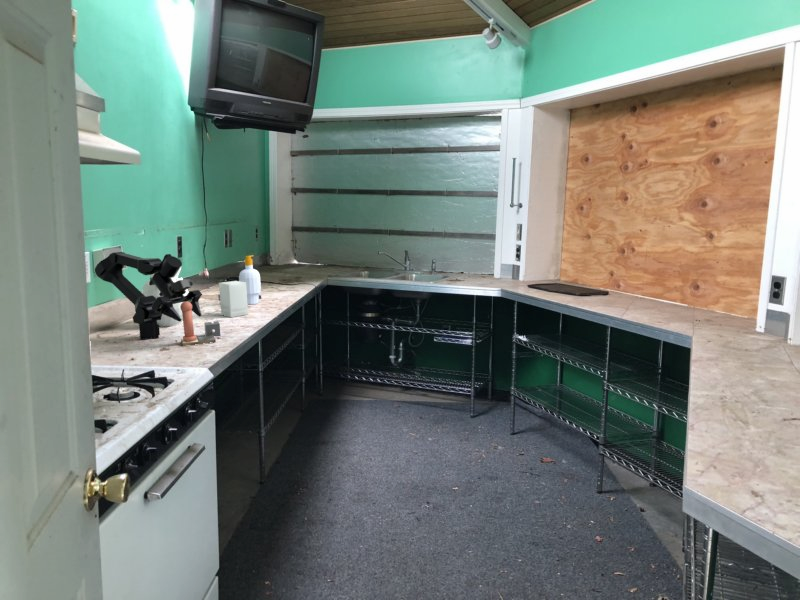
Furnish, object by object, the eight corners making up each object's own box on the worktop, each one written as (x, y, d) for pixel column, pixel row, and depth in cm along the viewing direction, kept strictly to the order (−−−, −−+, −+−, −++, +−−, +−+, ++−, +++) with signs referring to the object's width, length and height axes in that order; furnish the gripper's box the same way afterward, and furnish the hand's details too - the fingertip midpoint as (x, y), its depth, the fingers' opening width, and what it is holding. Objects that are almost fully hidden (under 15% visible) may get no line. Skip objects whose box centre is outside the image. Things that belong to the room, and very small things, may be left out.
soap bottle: (266, 302, 275) (263, 255, 271) (250, 306, 266) (247, 257, 262) (251, 301, 280) (248, 254, 276) (236, 304, 272) (233, 256, 268)
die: (206, 338, 203) (205, 323, 202) (205, 335, 208) (204, 321, 207) (220, 336, 206) (219, 322, 205) (218, 333, 211) (217, 319, 210)
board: (182, 346, 192) (182, 343, 192) (181, 341, 199) (180, 338, 198) (215, 342, 197) (215, 339, 196) (213, 338, 203) (212, 335, 203)
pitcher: (182, 328, 220) (176, 267, 215) (136, 329, 220) (130, 268, 215) (198, 319, 238) (194, 262, 234) (156, 319, 238) (151, 263, 234)
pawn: (182, 342, 194) (178, 303, 191) (184, 339, 198) (179, 301, 195) (195, 340, 195) (191, 302, 192) (196, 338, 199) (192, 300, 196)
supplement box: (249, 314, 246) (246, 282, 244) (231, 317, 240) (228, 284, 237) (238, 312, 252) (236, 280, 250) (220, 315, 246) (218, 282, 243)
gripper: (154, 274, 185) (180, 308, 182) (196, 268, 202) (220, 299, 199) (140, 295, 190) (165, 329, 187) (183, 287, 207) (206, 318, 204)
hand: (190, 318), depth 194 cm, fingers open, 9 cm apart
